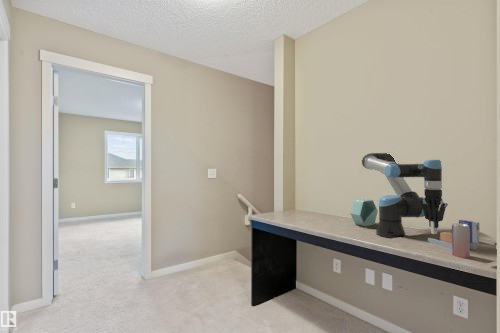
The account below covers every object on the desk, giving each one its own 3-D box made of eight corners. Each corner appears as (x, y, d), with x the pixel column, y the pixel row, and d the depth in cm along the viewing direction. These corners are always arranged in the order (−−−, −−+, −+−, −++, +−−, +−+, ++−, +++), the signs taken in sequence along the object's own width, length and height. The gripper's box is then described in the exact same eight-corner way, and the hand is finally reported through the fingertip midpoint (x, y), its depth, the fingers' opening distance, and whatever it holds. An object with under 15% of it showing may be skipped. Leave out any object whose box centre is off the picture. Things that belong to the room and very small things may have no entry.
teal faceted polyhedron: (368, 232, 173) (356, 209, 168) (358, 230, 180) (347, 207, 175) (380, 216, 180) (370, 193, 175) (370, 215, 187) (360, 192, 182)
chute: (427, 244, 131) (427, 238, 131) (441, 242, 134) (441, 236, 134) (461, 255, 115) (461, 247, 116) (477, 252, 119) (477, 244, 119)
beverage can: (449, 256, 114) (448, 223, 114) (463, 256, 114) (462, 223, 114) (458, 261, 108) (458, 226, 108) (473, 261, 108) (473, 226, 108)
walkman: (459, 241, 135) (458, 219, 135) (461, 241, 136) (461, 219, 136) (477, 246, 128) (476, 222, 128) (480, 245, 129) (479, 221, 129)
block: (440, 244, 127) (440, 232, 127) (448, 243, 129) (448, 231, 129) (453, 248, 121) (453, 235, 121) (461, 246, 123) (461, 234, 123)
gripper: (416, 188, 138) (417, 231, 137) (440, 190, 126) (442, 237, 125) (425, 187, 140) (426, 230, 140) (451, 189, 128) (452, 236, 128)
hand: (434, 233), depth 133 cm, fingers closed
